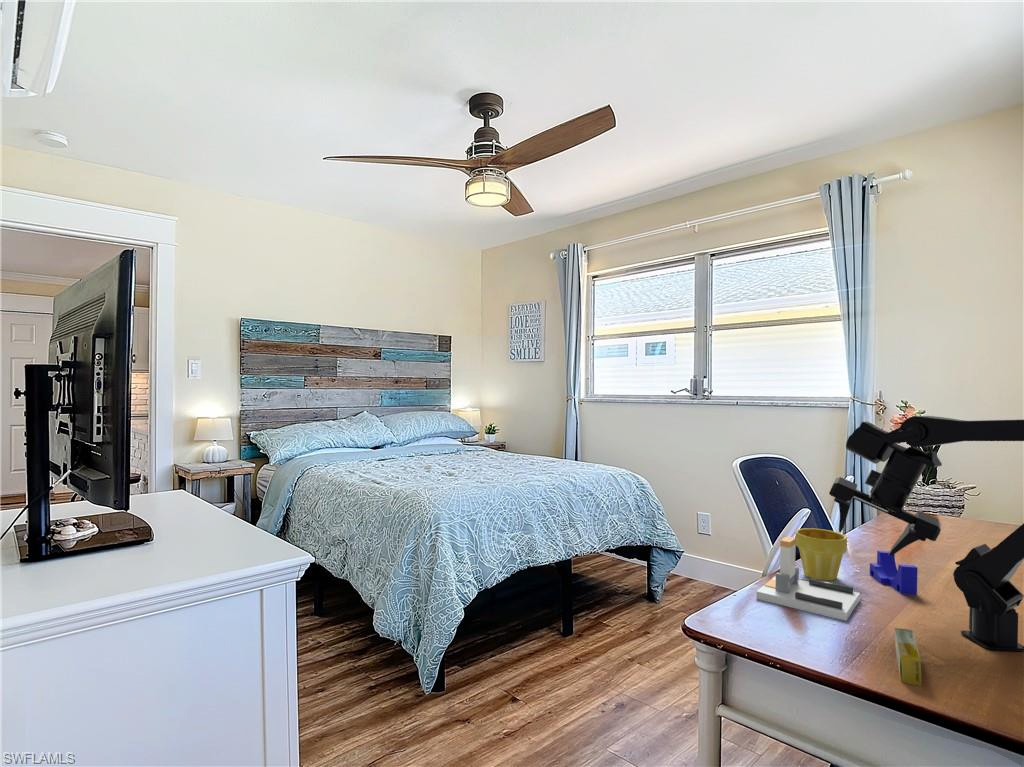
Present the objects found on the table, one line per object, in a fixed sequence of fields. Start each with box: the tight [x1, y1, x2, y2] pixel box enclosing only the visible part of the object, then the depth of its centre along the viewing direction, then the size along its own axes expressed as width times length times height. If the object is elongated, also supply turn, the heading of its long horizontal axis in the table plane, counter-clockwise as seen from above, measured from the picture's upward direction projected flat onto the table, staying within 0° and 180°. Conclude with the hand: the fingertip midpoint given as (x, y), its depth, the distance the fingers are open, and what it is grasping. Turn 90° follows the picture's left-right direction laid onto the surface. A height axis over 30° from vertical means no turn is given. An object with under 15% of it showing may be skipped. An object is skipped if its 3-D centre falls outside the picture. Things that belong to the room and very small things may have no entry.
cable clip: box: [869, 550, 918, 596], centre depth 127 cm, size 12×4×6 cm, turn 169°
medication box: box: [894, 627, 922, 687], centre depth 89 cm, size 12×3×4 cm, turn 150°
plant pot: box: [795, 527, 848, 582], centre depth 132 cm, size 10×10×10 cm
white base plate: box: [755, 566, 861, 622], centre depth 117 cm, size 16×14×5 cm
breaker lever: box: [779, 536, 797, 584], centre depth 119 cm, size 2×5×9 cm, turn 140°
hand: (864, 543), depth 115 cm, fingers open, 9 cm apart
